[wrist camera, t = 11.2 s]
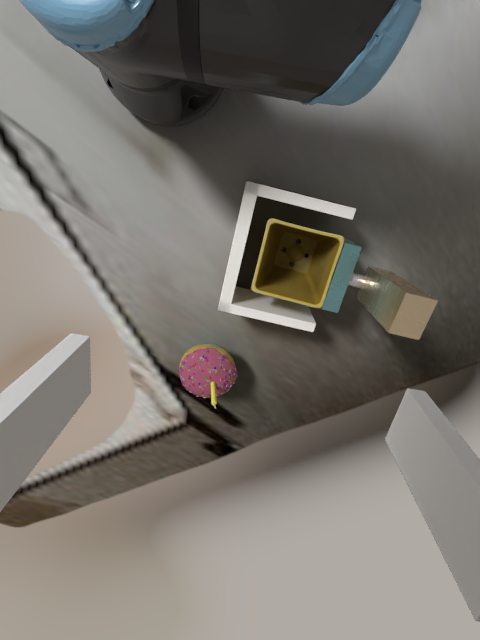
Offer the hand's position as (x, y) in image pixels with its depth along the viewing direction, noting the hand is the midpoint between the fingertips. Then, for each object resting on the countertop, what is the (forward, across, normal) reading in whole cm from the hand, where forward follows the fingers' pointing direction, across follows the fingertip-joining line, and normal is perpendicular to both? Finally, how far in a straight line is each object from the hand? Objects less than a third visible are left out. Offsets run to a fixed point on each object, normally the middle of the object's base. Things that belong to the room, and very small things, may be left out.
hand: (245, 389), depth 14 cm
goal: (+36, +4, -1) cm, 36 cm away
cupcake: (+35, -3, -19) cm, 40 cm away
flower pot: (+35, +6, -1) cm, 36 cm away
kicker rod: (+34, +13, -1) cm, 37 cm away
